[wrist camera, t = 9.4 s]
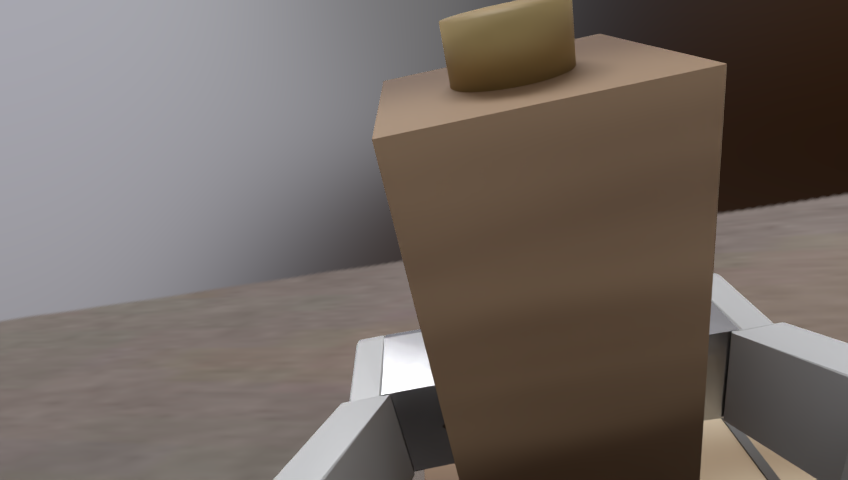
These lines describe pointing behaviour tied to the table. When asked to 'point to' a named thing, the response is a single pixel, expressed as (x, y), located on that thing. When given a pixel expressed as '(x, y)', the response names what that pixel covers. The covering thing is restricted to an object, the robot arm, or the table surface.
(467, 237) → the wooden peg post
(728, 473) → the plank
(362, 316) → the table surface
